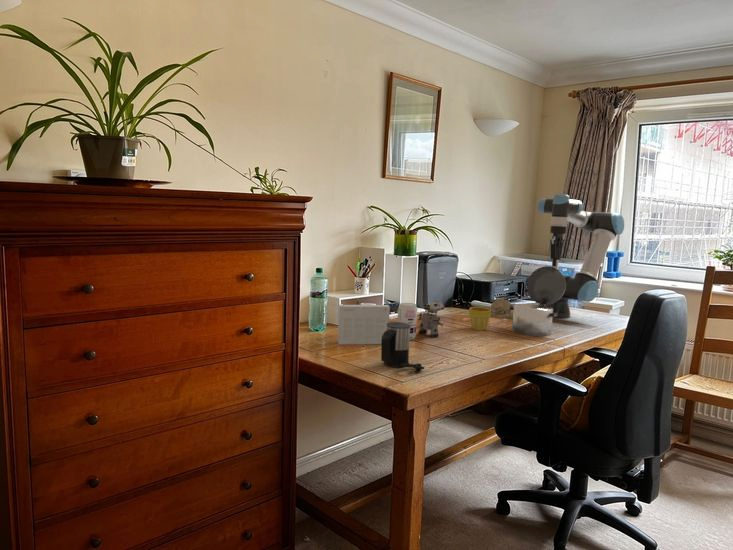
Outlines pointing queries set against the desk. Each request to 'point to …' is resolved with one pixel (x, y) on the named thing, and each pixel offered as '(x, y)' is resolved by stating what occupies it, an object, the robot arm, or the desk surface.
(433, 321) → the figurine
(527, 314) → the cooker pot
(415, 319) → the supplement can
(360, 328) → the skincare box
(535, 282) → the lid
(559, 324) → the desk surface
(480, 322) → the plant pot
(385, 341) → the milk frother
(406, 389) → the desk surface
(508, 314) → the ceramic model
